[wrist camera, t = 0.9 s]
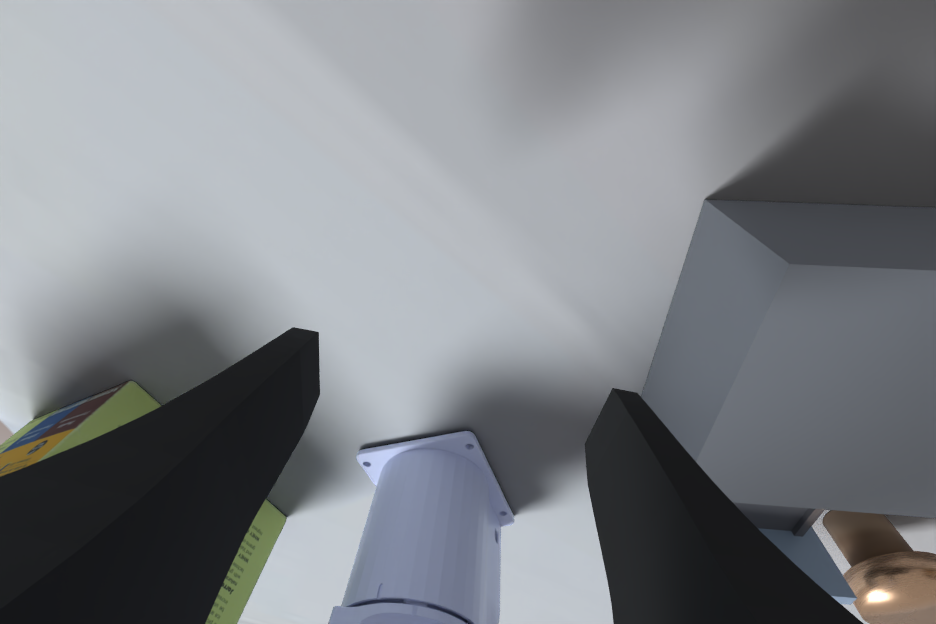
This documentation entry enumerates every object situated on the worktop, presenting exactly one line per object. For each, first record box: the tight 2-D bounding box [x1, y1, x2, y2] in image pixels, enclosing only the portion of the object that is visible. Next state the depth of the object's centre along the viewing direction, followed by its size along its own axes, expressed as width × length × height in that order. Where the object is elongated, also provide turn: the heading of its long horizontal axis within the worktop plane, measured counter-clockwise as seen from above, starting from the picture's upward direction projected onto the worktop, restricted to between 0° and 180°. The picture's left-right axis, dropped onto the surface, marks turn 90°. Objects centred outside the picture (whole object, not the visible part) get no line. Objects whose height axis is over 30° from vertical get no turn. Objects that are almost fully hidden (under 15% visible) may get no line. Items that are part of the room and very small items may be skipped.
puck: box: [843, 551, 936, 624], centre depth 23 cm, size 5×5×2 cm
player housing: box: [641, 199, 936, 518], centre depth 17 cm, size 11×12×6 cm
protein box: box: [0, 381, 287, 624], centre depth 23 cm, size 10×15×16 cm
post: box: [823, 510, 913, 567], centre depth 25 cm, size 3×3×4 cm
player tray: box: [734, 503, 857, 605], centre depth 22 cm, size 11×12×5 cm
